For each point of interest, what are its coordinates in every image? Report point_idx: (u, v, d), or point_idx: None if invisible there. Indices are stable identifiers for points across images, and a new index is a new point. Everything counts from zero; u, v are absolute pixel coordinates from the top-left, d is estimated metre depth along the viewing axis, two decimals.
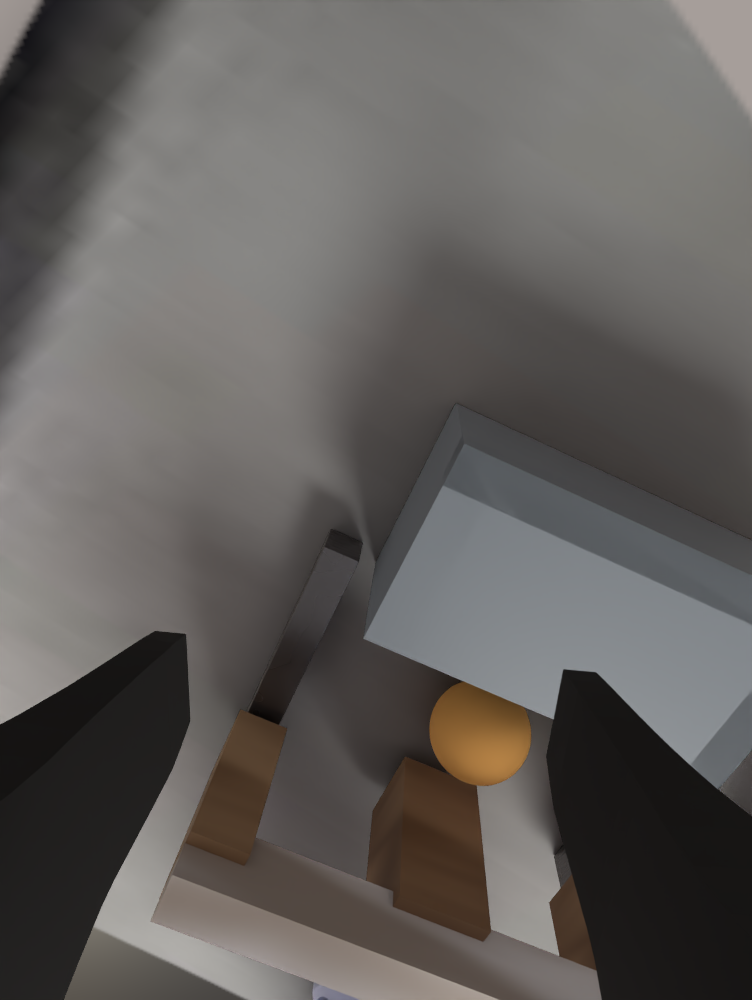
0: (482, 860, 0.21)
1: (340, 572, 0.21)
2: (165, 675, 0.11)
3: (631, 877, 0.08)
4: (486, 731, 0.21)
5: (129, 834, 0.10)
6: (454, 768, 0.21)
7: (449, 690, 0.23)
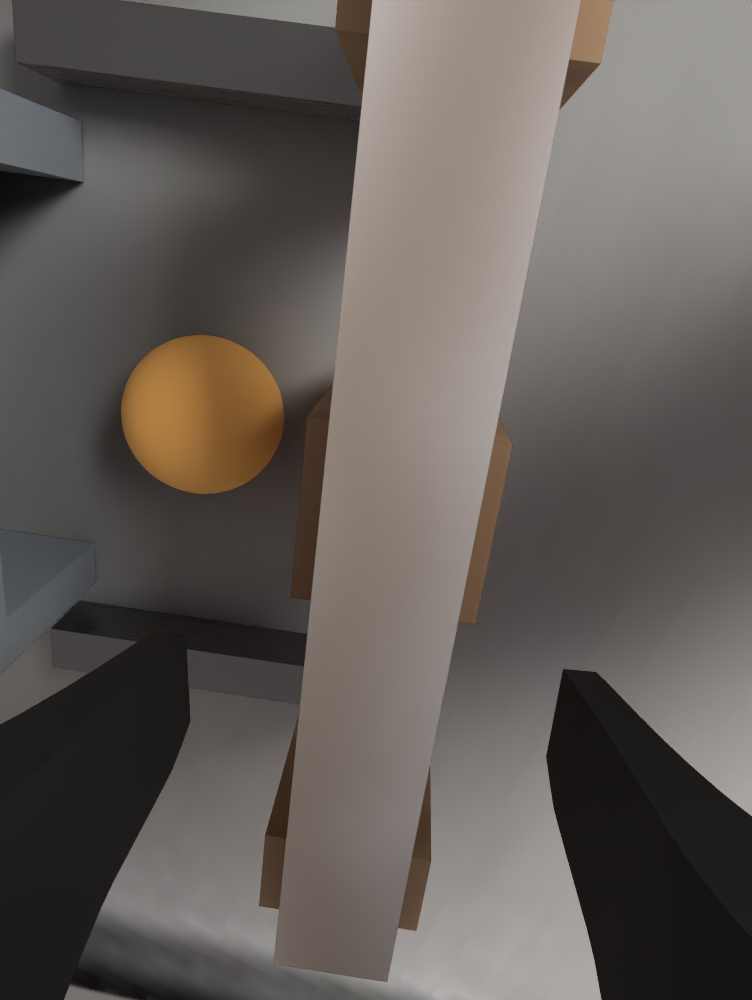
0: None
1: (74, 644, 0.17)
2: (165, 675, 0.11)
3: (631, 877, 0.08)
4: (134, 441, 0.13)
5: (129, 834, 0.10)
6: (216, 467, 0.13)
7: None
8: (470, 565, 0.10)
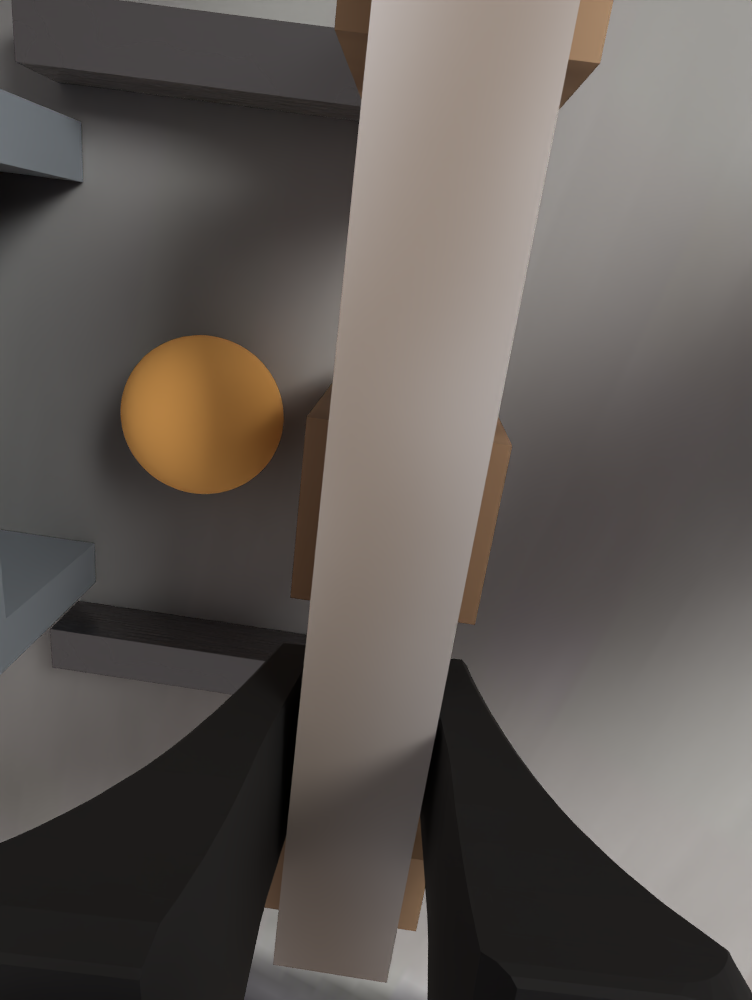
0: None
1: (73, 645, 0.17)
2: None
3: (443, 857, 0.08)
4: (134, 442, 0.13)
5: (277, 850, 0.10)
6: (215, 468, 0.13)
7: None
8: (470, 565, 0.10)
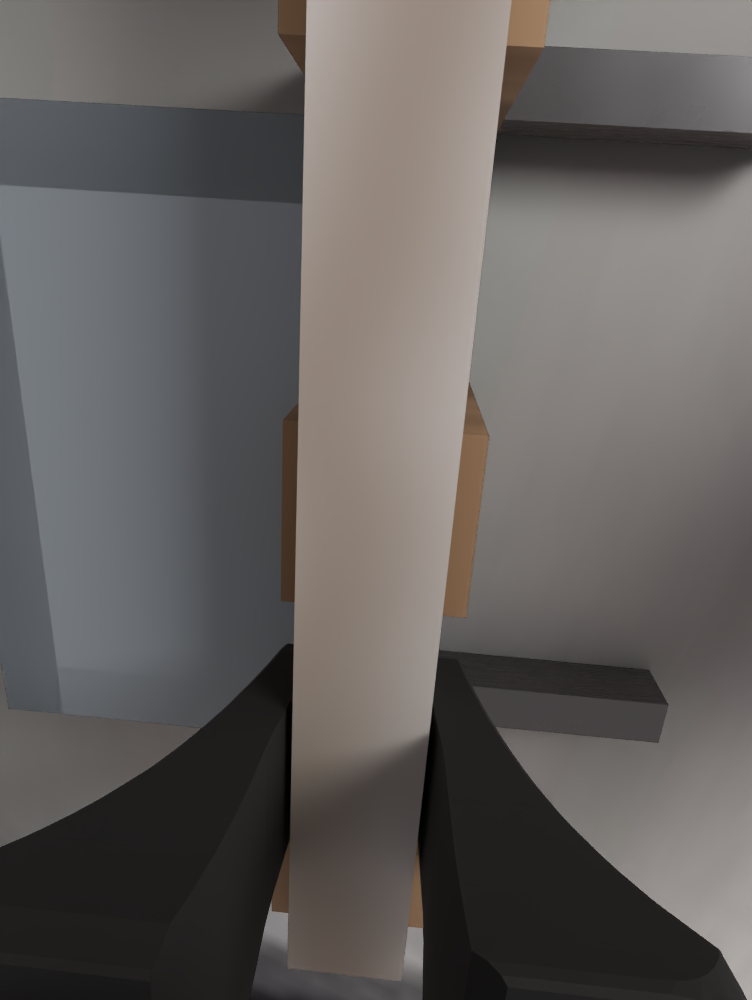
0: None
1: None
2: None
3: (437, 856, 0.08)
4: None
5: (282, 851, 0.10)
6: None
7: None
8: (456, 558, 0.10)
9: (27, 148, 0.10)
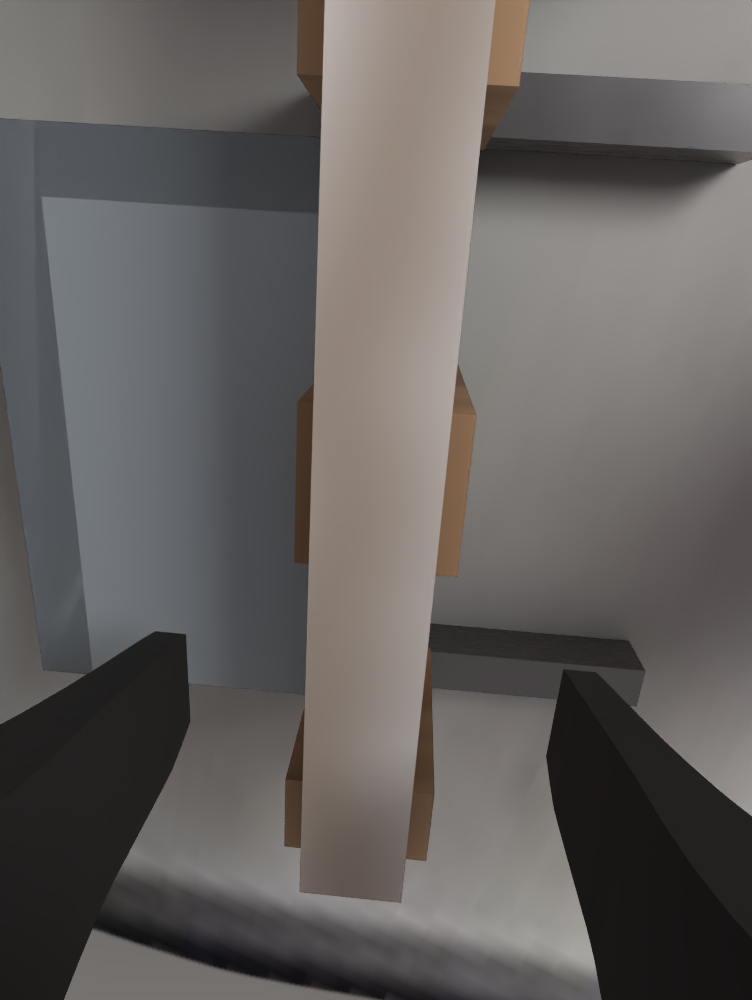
0: None
1: None
2: (165, 675, 0.11)
3: (631, 877, 0.08)
4: None
5: (129, 834, 0.10)
6: None
7: None
8: (448, 524, 0.11)
9: (72, 165, 0.11)
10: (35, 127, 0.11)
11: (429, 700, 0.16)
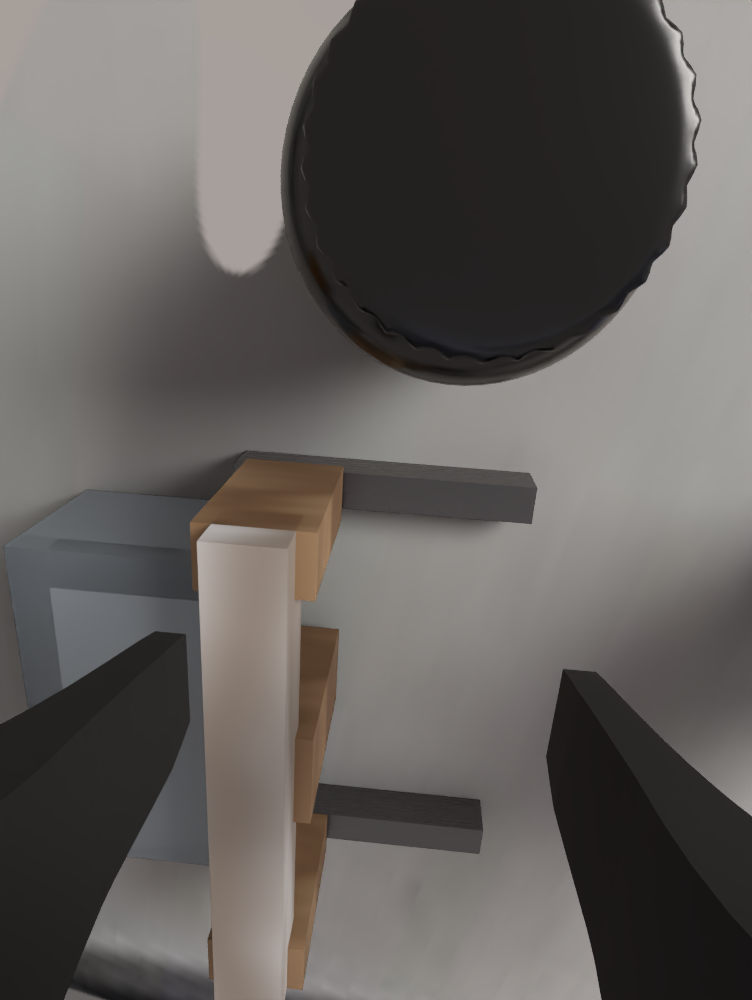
0: None
1: None
2: (165, 675, 0.11)
3: (631, 877, 0.08)
4: None
5: (129, 834, 0.10)
6: None
7: None
8: (302, 795, 0.18)
9: (68, 572, 0.18)
10: (46, 552, 0.18)
11: (316, 866, 0.23)
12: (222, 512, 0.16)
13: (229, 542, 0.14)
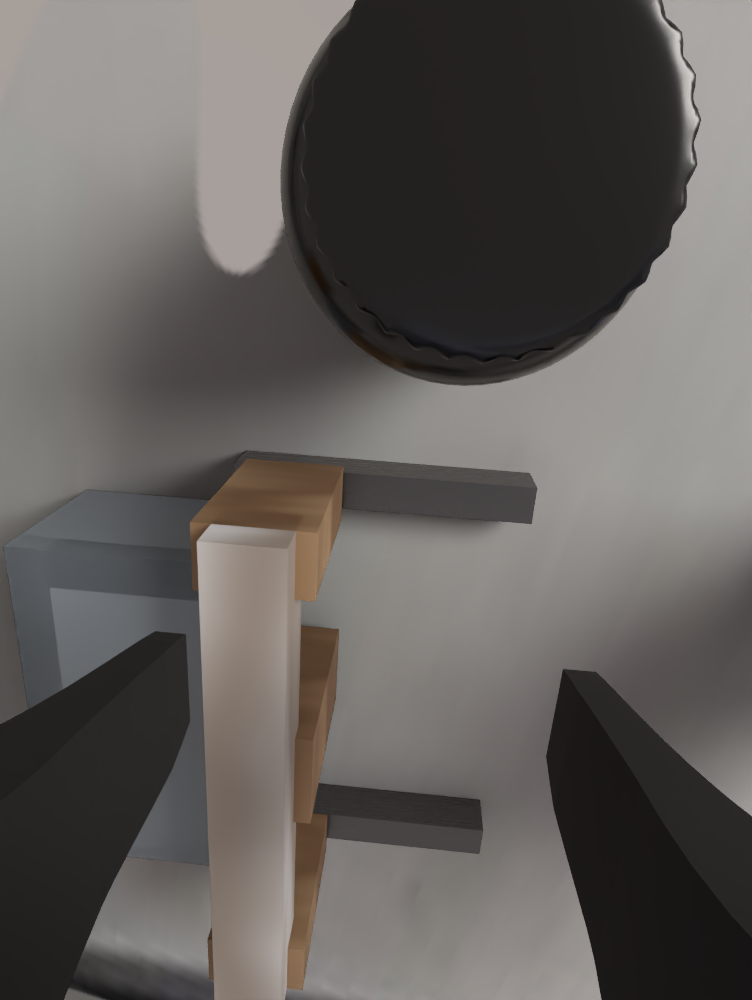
0: None
1: None
2: (165, 675, 0.11)
3: (631, 877, 0.08)
4: None
5: (129, 834, 0.10)
6: None
7: None
8: (302, 795, 0.18)
9: (68, 572, 0.18)
10: (46, 552, 0.18)
11: (316, 866, 0.23)
12: (222, 512, 0.16)
13: (229, 542, 0.14)
